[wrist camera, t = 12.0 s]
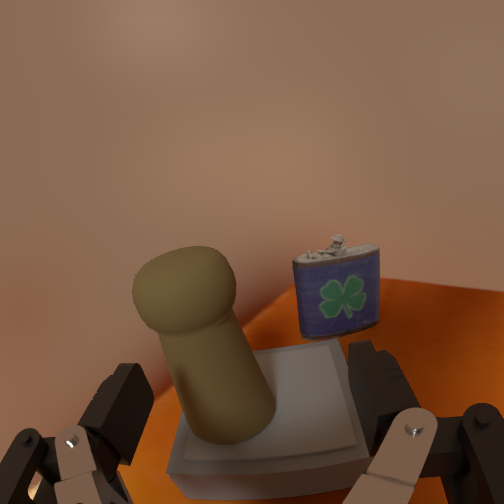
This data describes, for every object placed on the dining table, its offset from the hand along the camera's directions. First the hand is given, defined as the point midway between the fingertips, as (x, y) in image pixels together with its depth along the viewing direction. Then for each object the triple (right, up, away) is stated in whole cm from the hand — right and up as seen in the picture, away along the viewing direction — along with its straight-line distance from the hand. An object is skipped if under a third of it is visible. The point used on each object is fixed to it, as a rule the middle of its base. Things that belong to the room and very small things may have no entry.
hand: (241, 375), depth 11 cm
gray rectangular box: (+2, -9, +10) cm, 13 cm away
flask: (+10, -4, +21) cm, 24 cm away
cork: (-1, -6, +8) cm, 10 cm away
